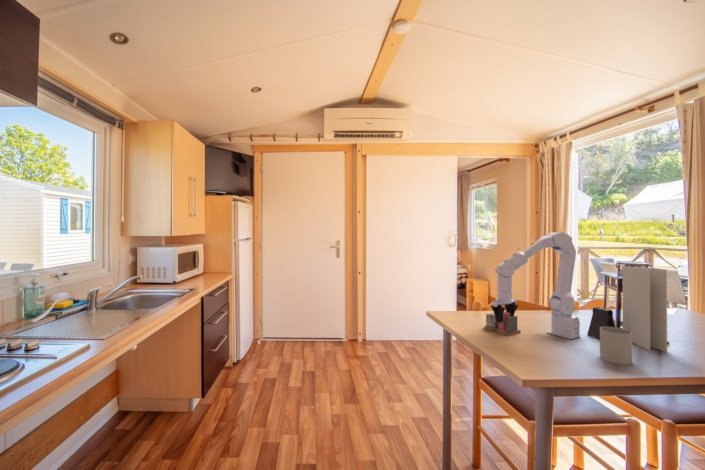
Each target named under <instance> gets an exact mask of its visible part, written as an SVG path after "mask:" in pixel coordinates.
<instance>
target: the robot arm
mask: <svg viewBox="0 0 705 470" xmlns="http://www.w3.org/2000/svg"><path fill="white" fill-rule="evenodd" d="M546 248H552V249H554V250H555V251H556V252H557V253H558V254H559V261H558V269H557V275H556V283H555V290H554V291H553V292H551V297H550V298H549V300H548V307H549V308H550V309H551V313H550V314H551V317H550V318H551V329H550V330H549V331H547V332H546V333H547V334H549V335H554V336H557V337H562V338H566V339H568V340H573V339H576V338H579V337H581V334H580V333H581V332H580V327H581V325H580V319H579V317H578V316H574V315H573V314H574V313H575V311H576V305H575V299H574V296H573V295H572V287H573V286H572V285H573V279H574V278H573V277H574V270H575V263H576V256H577V251H576V248H575V246H574V243H573V237H571V236H570V234H568V233H567V232H564V231H559V232H548V233H546V234H545V235H543V236H541V237H540V238H539V239H537V240H536V241H535V242H533V243H532V244H531V245H530V246H529V247H527V248H526V249H525V250H523V251H522V252H521V251H518V252H513V253H512V256H510V257H509V258H507V259H504V260H503V262H502V263H498V265H497V266H496V267H495V273H496V274H497V280H496V281H497V298H495V300H494V301H491V305H490V308H491V310H492V312H493V313H494V314H495V317H496V321H497V322H500V323H502V319H503V313H504V312H509V313H510V317H511V316H515V313H516V311H517V309H518V308H519V304H517V298H513V280H512V279H513V278H512V276H513V275H514V274H515V271H517V270H518V269H520V268H522V267H523V266H524V265H525V264H527V263H529V262H528V261H529V258H530V257H533V256H534V255H536V254H537V253H538V252H540V251H542V250H543V249H546ZM503 306H504V307H503Z"/></svg>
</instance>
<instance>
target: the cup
mask: <svg viewBox="0 0 705 470" xmlns="http://www.w3.org/2000/svg"><path fill="white" fill-rule="evenodd" d="M615 327H616V326H615ZM615 327H600V339H599V358H600V359H601V360H604V361H606V362H609V363H613V364H616V365H624V366H625V365H626V366H628V365H629V366H630V365H632V364H633V343H632V332H631V331H628V330H625V329H623V328H620V327H616V328H615Z"/></svg>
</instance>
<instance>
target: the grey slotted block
mask: <svg viewBox="0 0 705 470" xmlns="http://www.w3.org/2000/svg"><path fill="white" fill-rule="evenodd" d="M485 316H486V317H485V325H483V326H484V327H483V328H484V329H485V330H488V331H491V332H495V333H498V334H502V335H505V336H509V337H510V336H515V335H517V334H521V330H520V329H519V328H518V316H517V315H514V316H511V317H506V330H501V329H498V322H497V321H496V317H495V314H494V312H489V313H485Z"/></svg>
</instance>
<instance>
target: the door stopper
mask: <svg viewBox="0 0 705 470" xmlns="http://www.w3.org/2000/svg"><path fill="white" fill-rule="evenodd" d="M591 315H592V316H591V320H590V323H589V327H588V330H587V334H586V335H587V336H589V337H592V338H594V339H599V340H600V327H615V328H617V327H616V324H615V320H614V311H613V310H612V309H608V308H603V307H599V306H593V307H592V314H591Z"/></svg>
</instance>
